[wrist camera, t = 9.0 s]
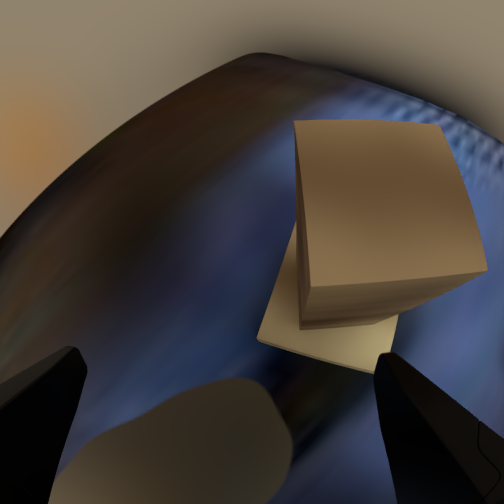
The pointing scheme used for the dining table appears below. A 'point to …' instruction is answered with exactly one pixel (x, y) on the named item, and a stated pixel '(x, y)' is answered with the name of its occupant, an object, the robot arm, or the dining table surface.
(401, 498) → the robot arm
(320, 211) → the column brick
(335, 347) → the base block
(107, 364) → the dining table surface
